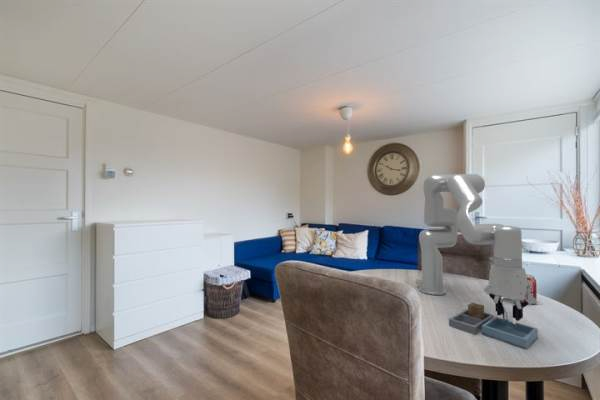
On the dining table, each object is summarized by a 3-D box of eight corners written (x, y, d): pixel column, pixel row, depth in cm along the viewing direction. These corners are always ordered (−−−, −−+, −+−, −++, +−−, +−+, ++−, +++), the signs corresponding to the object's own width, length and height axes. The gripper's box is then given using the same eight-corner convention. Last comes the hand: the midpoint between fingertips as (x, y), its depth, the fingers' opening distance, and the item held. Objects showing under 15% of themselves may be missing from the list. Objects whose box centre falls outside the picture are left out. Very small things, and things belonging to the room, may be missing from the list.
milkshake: (496, 324, 92) (494, 294, 93) (510, 322, 93) (508, 293, 93) (507, 329, 88) (505, 299, 88) (522, 328, 88) (520, 298, 89)
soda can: (519, 304, 118) (519, 276, 118) (513, 298, 124) (513, 272, 124) (539, 306, 115) (539, 278, 115) (532, 300, 122) (532, 274, 122)
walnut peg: (468, 320, 102) (467, 304, 102) (472, 317, 105) (472, 302, 105) (479, 324, 99) (479, 308, 99) (484, 321, 101) (484, 305, 101)
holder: (449, 325, 98) (448, 318, 98) (468, 314, 108) (468, 308, 108) (475, 334, 91) (475, 327, 91) (493, 321, 101) (493, 315, 101)
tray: (481, 334, 92) (481, 325, 92) (495, 324, 99) (495, 316, 99) (526, 349, 82) (526, 339, 82) (537, 337, 89) (537, 328, 89)
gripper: (475, 260, 95) (476, 311, 95) (537, 269, 82) (538, 329, 81) (483, 257, 100) (484, 306, 99) (543, 265, 86) (545, 322, 86)
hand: (508, 316), depth 90 cm, fingers closed on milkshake, 4 cm apart
